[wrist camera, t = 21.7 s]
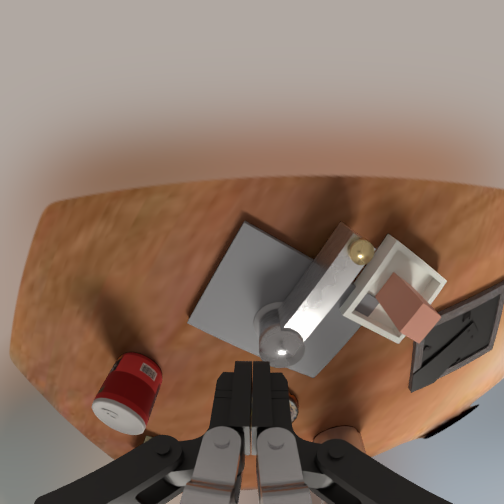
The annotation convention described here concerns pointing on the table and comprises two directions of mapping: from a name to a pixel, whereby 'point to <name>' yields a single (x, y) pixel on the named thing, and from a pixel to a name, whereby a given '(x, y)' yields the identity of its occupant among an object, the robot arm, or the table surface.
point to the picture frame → (457, 337)
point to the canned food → (128, 394)
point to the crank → (312, 297)
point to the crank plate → (268, 298)
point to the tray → (375, 276)
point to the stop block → (407, 308)
